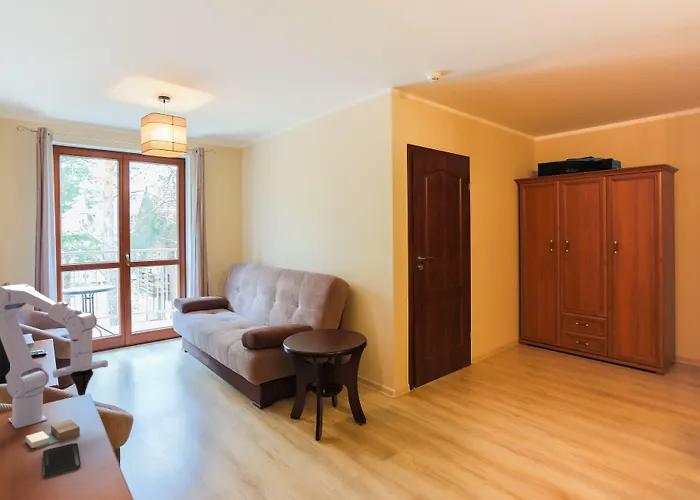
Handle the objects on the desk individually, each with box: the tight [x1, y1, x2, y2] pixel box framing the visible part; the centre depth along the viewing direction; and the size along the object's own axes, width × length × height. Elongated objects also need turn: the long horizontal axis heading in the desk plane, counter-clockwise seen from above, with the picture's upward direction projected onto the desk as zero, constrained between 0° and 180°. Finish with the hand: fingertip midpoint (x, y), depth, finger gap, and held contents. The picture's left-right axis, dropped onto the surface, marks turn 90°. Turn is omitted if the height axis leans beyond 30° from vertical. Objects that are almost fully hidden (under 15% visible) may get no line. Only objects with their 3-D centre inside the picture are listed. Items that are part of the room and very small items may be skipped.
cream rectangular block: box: [25, 430, 49, 449], centre depth 114 cm, size 6×4×2 cm, turn 52°
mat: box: [34, 432, 59, 450], centre depth 115 cm, size 8×5×1 cm, turn 52°
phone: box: [41, 442, 82, 479], centre depth 105 cm, size 8×1×15 cm
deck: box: [50, 418, 81, 443], centre depth 119 cm, size 8×5×2 cm, turn 52°
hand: (81, 394), depth 126 cm, fingers closed
